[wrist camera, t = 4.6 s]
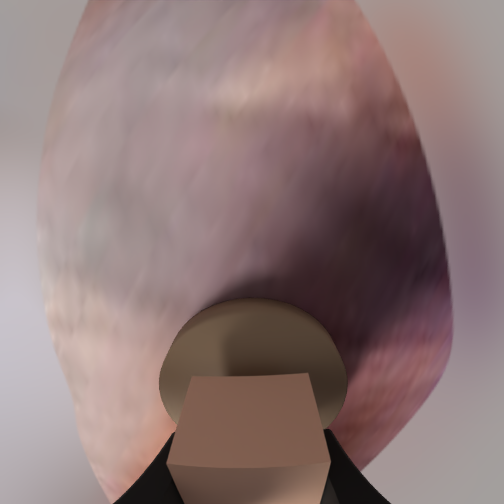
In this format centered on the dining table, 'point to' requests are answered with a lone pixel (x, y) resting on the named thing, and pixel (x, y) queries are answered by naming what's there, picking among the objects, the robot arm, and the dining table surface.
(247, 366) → the olive round dish
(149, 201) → the dining table surface
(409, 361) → the dining table surface
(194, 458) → the tan block
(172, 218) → the dining table surface
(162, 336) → the dining table surface
